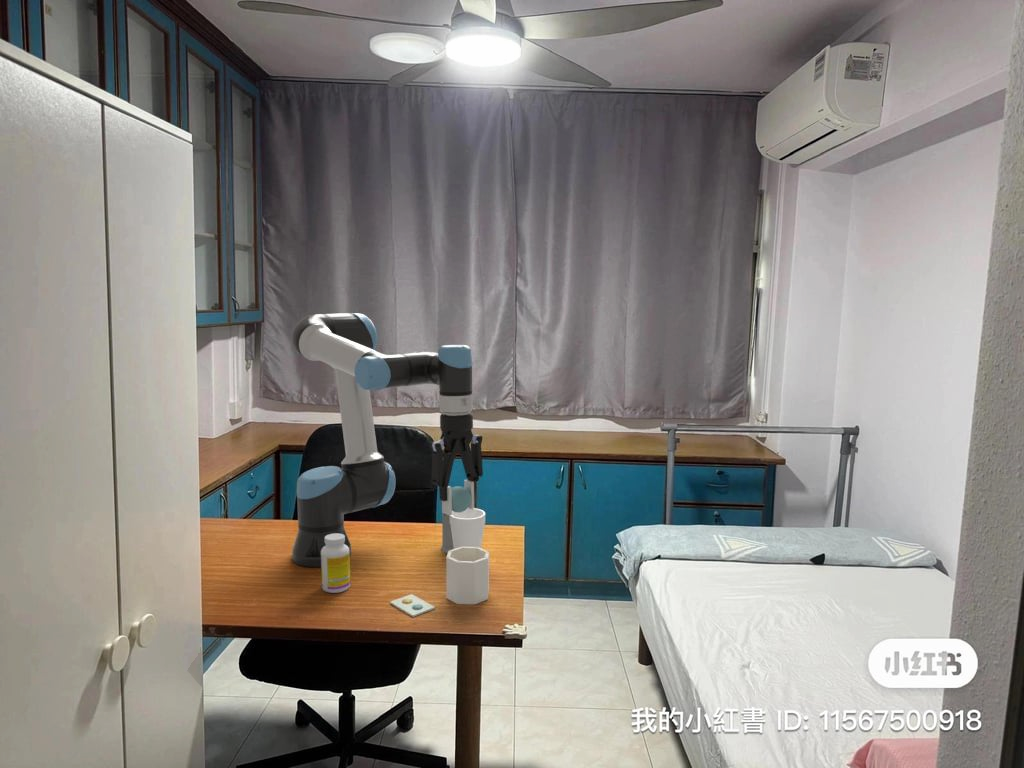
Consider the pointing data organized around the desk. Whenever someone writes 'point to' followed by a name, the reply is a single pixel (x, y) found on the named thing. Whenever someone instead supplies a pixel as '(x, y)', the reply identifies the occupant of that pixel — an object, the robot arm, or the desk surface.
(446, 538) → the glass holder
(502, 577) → the desk surface
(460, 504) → the ball teal
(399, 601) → the card
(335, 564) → the supplement bottle
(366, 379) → the robot arm
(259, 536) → the desk surface
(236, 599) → the desk surface
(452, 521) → the foam cup
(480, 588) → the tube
